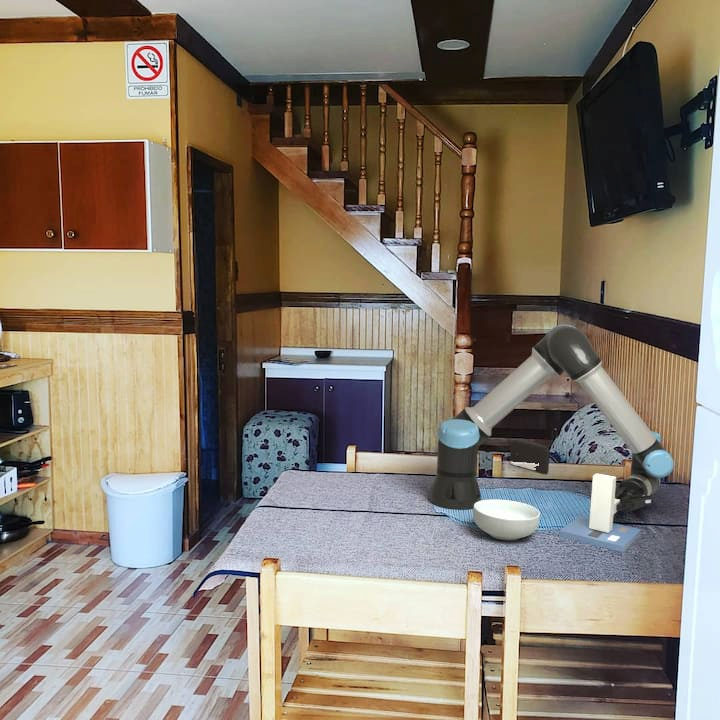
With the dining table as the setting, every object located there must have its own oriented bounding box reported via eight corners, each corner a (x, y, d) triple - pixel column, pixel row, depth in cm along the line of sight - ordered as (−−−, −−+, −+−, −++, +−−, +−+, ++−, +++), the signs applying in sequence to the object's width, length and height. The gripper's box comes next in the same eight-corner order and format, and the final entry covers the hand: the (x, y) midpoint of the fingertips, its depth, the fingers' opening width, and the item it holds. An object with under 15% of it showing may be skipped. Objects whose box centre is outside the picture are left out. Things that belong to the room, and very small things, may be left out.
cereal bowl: (548, 547, 167) (550, 519, 166) (481, 547, 165) (483, 519, 165) (525, 524, 184) (527, 498, 183) (465, 523, 182) (466, 497, 182)
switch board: (580, 520, 188) (580, 515, 188) (640, 535, 178) (641, 529, 178) (558, 536, 175) (559, 530, 175) (622, 552, 166) (623, 546, 165)
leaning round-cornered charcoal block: (553, 473, 238) (555, 446, 237) (546, 475, 235) (547, 448, 234) (516, 463, 250) (517, 438, 249) (508, 464, 247) (509, 439, 246)
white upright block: (592, 525, 179) (596, 473, 178) (612, 529, 176) (616, 477, 175) (589, 528, 177) (592, 475, 175) (608, 532, 174) (612, 479, 172)
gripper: (657, 508, 192) (634, 529, 173) (610, 498, 200) (583, 518, 181) (659, 482, 191) (636, 501, 172) (612, 473, 199) (585, 490, 180)
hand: (609, 509), depth 176 cm, fingers closed
